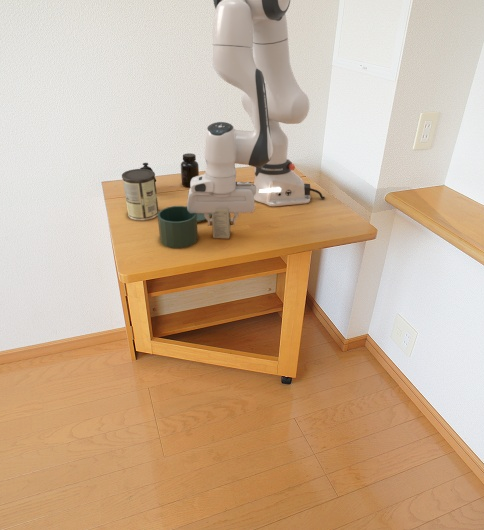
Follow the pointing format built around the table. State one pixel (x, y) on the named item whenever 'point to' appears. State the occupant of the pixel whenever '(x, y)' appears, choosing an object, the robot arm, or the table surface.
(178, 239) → the dark green round container
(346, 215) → the table surface
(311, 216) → the table surface
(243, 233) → the table surface
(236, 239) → the table surface
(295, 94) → the robot arm
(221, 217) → the small printed carton
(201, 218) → the dark green lid
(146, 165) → the controller
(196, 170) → the supplement bottle
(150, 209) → the coffee can
